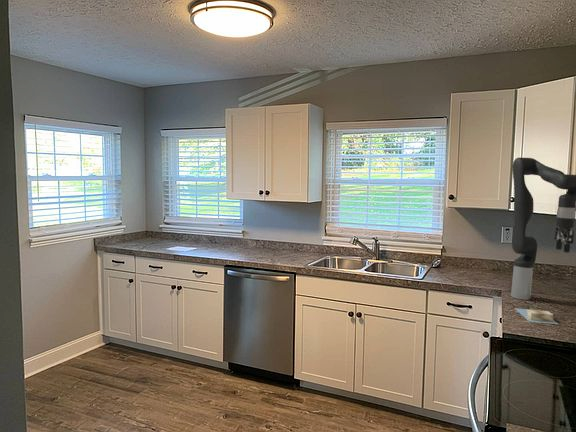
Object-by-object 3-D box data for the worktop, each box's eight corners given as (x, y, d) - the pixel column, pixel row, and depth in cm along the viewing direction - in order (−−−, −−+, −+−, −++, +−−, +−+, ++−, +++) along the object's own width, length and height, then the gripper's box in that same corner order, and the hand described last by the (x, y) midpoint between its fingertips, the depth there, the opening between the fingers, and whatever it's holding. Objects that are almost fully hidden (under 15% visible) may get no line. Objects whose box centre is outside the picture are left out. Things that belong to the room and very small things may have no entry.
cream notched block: (547, 318, 201) (548, 311, 201) (552, 321, 196) (553, 314, 196) (526, 316, 203) (527, 309, 203) (530, 319, 198) (531, 313, 198)
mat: (514, 309, 215) (514, 308, 215) (540, 311, 213) (540, 310, 213) (529, 322, 196) (529, 321, 196) (558, 324, 194) (558, 324, 194)
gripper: (581, 218, 200) (578, 254, 202) (567, 216, 214) (564, 249, 216) (563, 217, 201) (560, 252, 203) (550, 215, 215) (547, 248, 217)
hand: (562, 250), depth 209 cm, fingers open, 8 cm apart
